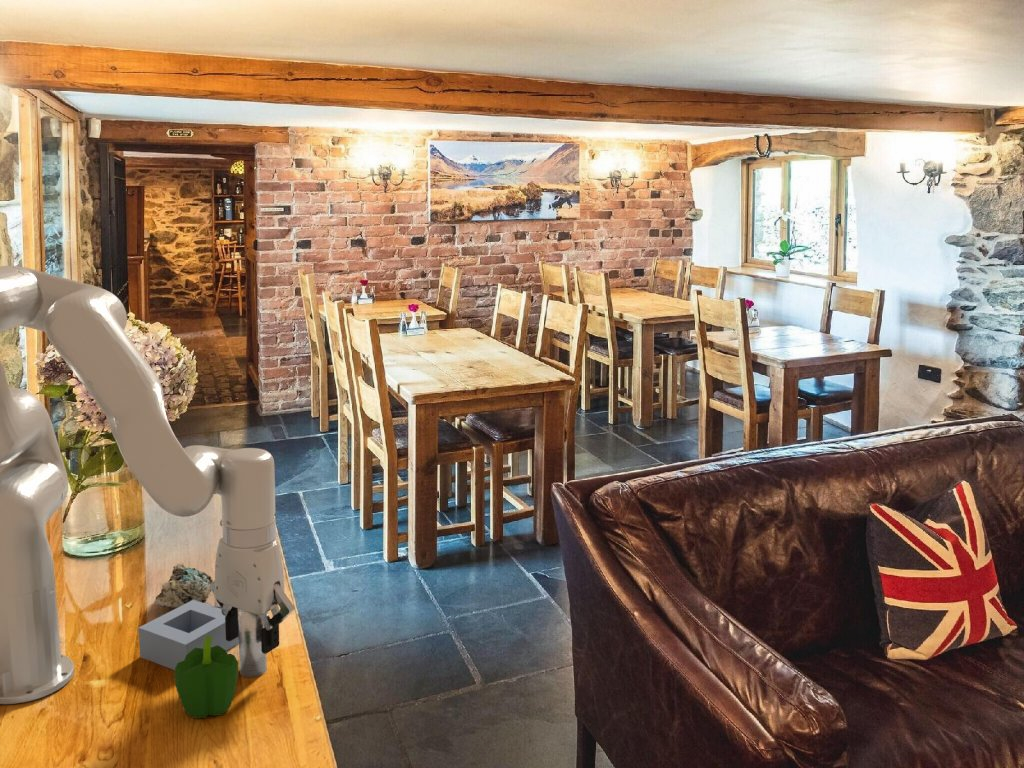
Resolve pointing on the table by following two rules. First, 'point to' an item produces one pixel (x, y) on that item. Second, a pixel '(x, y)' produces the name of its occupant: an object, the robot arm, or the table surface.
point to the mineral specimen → (184, 587)
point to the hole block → (183, 633)
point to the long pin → (250, 645)
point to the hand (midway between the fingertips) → (252, 642)
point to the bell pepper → (206, 680)
